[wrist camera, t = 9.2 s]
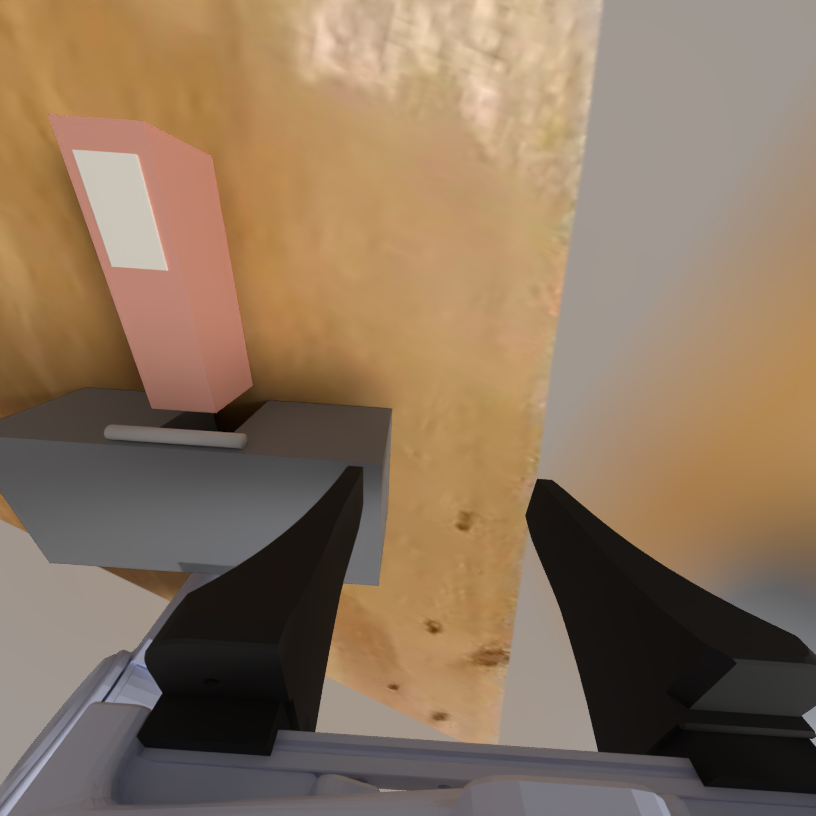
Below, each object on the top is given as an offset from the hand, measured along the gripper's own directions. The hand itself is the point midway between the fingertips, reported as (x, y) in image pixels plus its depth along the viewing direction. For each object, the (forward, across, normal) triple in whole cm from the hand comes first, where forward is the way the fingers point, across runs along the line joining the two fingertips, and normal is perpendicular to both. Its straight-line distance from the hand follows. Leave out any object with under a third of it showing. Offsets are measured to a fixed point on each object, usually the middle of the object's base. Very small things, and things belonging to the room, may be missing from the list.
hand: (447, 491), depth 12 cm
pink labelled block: (+8, +14, -7) cm, 18 cm away
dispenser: (+9, +14, +6) cm, 18 cm away
